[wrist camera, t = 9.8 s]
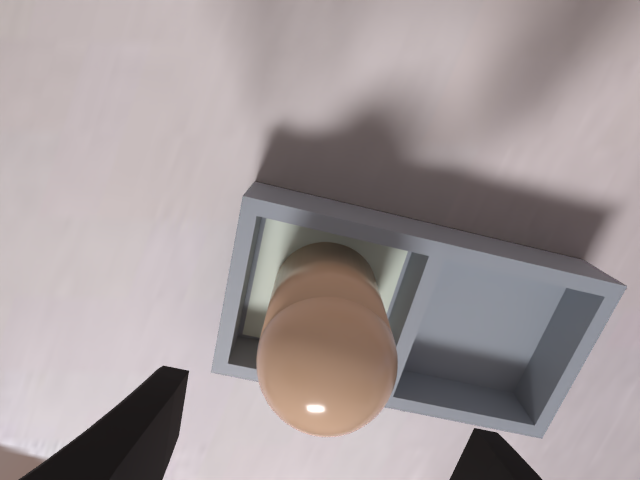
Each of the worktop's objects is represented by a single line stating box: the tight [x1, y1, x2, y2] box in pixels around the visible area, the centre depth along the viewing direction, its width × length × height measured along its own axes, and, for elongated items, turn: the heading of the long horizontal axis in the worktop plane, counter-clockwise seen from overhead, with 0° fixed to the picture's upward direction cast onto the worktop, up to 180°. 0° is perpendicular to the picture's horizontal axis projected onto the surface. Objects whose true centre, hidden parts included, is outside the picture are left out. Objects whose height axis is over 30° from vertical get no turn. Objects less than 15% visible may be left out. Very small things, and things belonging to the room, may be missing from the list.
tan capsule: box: [256, 242, 398, 437], centre depth 14 cm, size 4×4×7 cm
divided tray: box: [211, 182, 627, 438], centre depth 17 cm, size 15×8×3 cm, turn 76°
